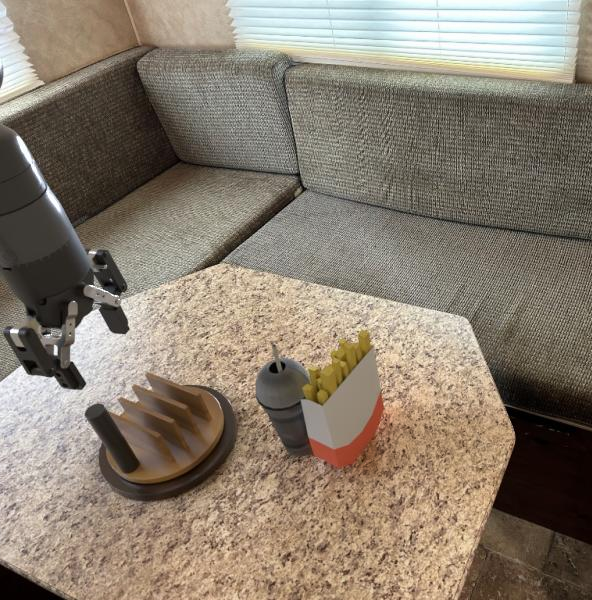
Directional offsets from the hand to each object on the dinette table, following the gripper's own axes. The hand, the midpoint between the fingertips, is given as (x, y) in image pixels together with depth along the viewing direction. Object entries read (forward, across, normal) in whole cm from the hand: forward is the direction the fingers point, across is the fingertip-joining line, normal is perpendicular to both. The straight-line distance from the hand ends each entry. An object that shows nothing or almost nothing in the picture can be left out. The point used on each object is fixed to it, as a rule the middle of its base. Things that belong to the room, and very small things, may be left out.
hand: (100, 358), depth 68 cm
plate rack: (+21, -5, -2) cm, 22 cm away
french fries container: (+23, -9, +24) cm, 34 cm away
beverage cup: (+23, -8, +16) cm, 29 cm away
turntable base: (+23, -5, -2) cm, 24 cm away
